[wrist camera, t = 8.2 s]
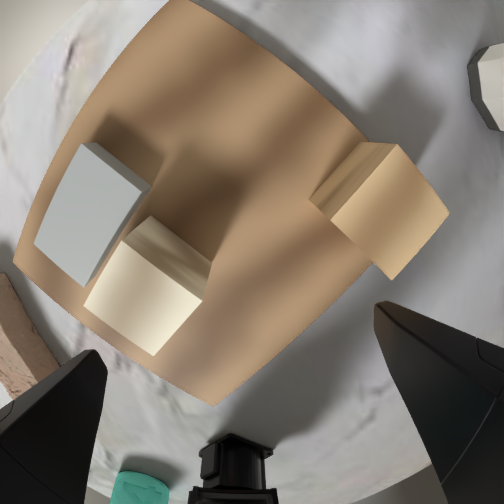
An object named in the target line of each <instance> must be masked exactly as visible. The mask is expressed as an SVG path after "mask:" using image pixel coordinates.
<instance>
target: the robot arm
mask: <svg viewBox="0 0 504 504" xmlns="http://www.w3.org/2000/svg"><path fill="white" fill-rule="evenodd" d="M374 331H375V334H376V337H377V340H378V342H379V345H380V348H381V350H382V353H383V356H384V358H385V361H386V364H387V367H388V369H389V372H390V374H391V376H392V378H393V380H394V382H395V384H396V386H397V388H398V390H399V392H400V394H401V396H402V398H403V400H404V402H405V405H406V407H407V409H408V411H409V413H410V415H411V417H412V419H413V421H414V424H415V426H416V428H417V430H418V432H419V434H420V437H421V439H422V441H423V443H424V446H425V448H426V450H427V452H428V455H429V457H430V459H431V462H432V464H433V466H434V469H435V471H436V473H437V476H438V478H439V481H440V483H441V486H442V489H443V491H444V494H445V496H446V499H447V502H448V504H504V348H502V347H499V346H497V345H494V344H492V343H489V342H487V341H484V340H482V339H480V338H477V339H476V337H475V336H472V335H470V334H467V333H465V332H463V331H460V330H458V329H455V328H453V327H451V326H448V325H446V324H443V323H441V322H439V321H436V320H434V319H431V318H429V317H427V316H424V315H422V314H419V313H417V312H415V311H412V310H410V309H407V308H405V307H402V306H400V305H398V304H395V303H393V302H390V301H383V302H379V303H376V304H375V306H374ZM107 375H108V371H107V367H106V365H105V364H104V362H103V360H102V359H101V357H100V355H99V353H98V352H97V351H96V350H94V349H91V350H84V351H83V352H81V353H80V354H78V355H77V356H76V357H74V358H73V359H71V360H70V361H68V362H67V363H65V364H64V365H63V366H61V367H60V368H58V369H57V370H55V371H54V372H52V373H51V374H50V375H48V376H47V377H45V378H44V379H42V380H41V381H40V382H38V383H37V384H35V385H34V386H32V387H31V388H30V389H28V390H27V391H25V392H24V393H23V394H21V395H20V396H18V397H17V398H16V399H15V400H13V401H11V402H10V403H8V404H7V405H5V406H4V407H3V408H1V409H0V504H84V500H85V493H86V486H87V481H88V475H89V469H90V464H91V458H92V453H93V448H94V444H95V439H96V434H97V430H98V426H99V421H100V417H101V413H102V407H103V401H104V394H105V387H106V381H107ZM272 455H273V450H271V449H268V448H266V447H263V446H260V445H258V444H255V443H253V442H250V441H248V440H245V439H243V438H240V437H238V436H236V435H233V434H229V435H227V436H225V437H223V438H222V439H220V440H219V441H217V442H215V443H214V444H212V445H210V446H209V447H207V448H205V449H204V450H202V451H200V452H199V457H201V458H202V464H201V474H200V477H201V479H203V488H202V487H199V486H193V491H189V497H188V504H279V502H278V496H277V490H276V488H271V489H266V479H265V462H264V459H266V458H268V457H270V456H272Z"/></svg>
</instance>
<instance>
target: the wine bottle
mask: <svg viewBox="0 0 504 504" xmlns="http://www.w3.org/2000/svg"><path fill="white" fill-rule="evenodd" d="M467 68H468V75H469V83H470V92H471V100H472V102H473V103H474V105H475V106H476V108H477V109H478V111H479V113H480V114H481V116H482V118H483V119H484V121H485V123H486V124H487V126H488V128H489V129H493V130H497V131H501V132H504V43H501V44H497V45H493V46H489V47H485V48H483V49H481V50H479V52H478V53H477V54H476V55H475V57H474V58H473V59H472V61H471V62H470V63H469V64H468V66H467Z"/></svg>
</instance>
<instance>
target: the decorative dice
mask: <svg viewBox="0 0 504 504" xmlns="http://www.w3.org/2000/svg"><path fill="white" fill-rule="evenodd" d="M168 500H169V489H168V488H167V487H166V485H165V484H164V483H163V482H161V481H160V480H158V479H156V478H154V477H151V476H149V475H146V474H142V473H138V472H133V471H123V472H120V473H118V475H117V478H116V481H115V485H114V488H113V492H112V496H111V500H110V504H168Z"/></svg>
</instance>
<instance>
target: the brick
mask: <svg viewBox="0 0 504 504" xmlns="http://www.w3.org/2000/svg"><path fill="white" fill-rule="evenodd" d="M58 368H60V366H59V364H58V362H57V361H56V359H55V358H54V356H53V355H52V353H51V352H50V350H49V348H48V347H47V346H46V345H45V343H44V341H43V339H42V338H41V336H40V335H39V333H38V332H37V330H36V328H35V327H34V325H33V323H32V322H31V320H30V318H29V317H28V315H27V314H26V312H25V309H24V307H23V305H22V303H21V301H20V300H19V298H18V296H17V295H16V293H15V291H14V289H13V288H12V286H11V283H10V281H9V279H8V277H7V276H6V274H5V273H0V382H1V383H3V385H4V387H5V388H6V390H7V392H8V393H9V396H10V397H11V398H12V399H13V400H15V399H16V398H17V397H18V396H20V395H21V394H23V393H24V392H25V391H27V390H28V389H30V388H31V387H32V386H34V385H35V384H37V383H38V382H40V381H41V380H42V379H44V378H45V377H47V376H48V375H50V374H51V373H52V372H54V371H55V370H57V369H58Z"/></svg>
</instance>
